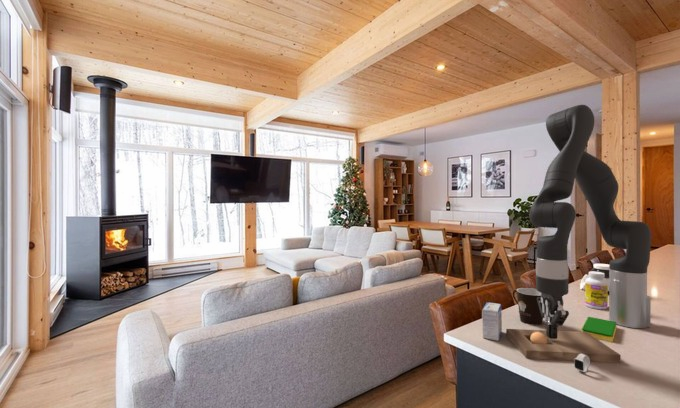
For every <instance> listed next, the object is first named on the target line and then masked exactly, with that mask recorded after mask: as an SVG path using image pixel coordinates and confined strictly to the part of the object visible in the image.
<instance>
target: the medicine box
mask: <svg viewBox="0 0 680 408" xmlns="http://www.w3.org/2000/svg"><path fill="white" fill-rule="evenodd" d="M502 313H503V312H502V304H501V303H495V302H486V303H485V305H484V306H483V307H482V311H481V321H482V322H481V323H482V325H481V327H482V328H481V329H482V339H483V338H484V339H487V340H492V341H500V337H501V334H502V331H503V329H502V327H503V325H502V324H503V323H502V321H503V320H502V317H503V316H502Z"/></svg>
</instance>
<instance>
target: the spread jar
mask: <svg viewBox="0 0 680 408" xmlns="http://www.w3.org/2000/svg"><path fill="white" fill-rule="evenodd" d="M609 269H610V268H609V264H608V263H607V264H606V263H593V268H592V269H591V270H590V271H595V272H602V273H604V274H605V277H604V280H605V281H607V283H608V295H609ZM587 278H589V274H584V276H583V277H582V279H581V281H580V283H579V289H580V290H583V291H585V280H586V279H587Z"/></svg>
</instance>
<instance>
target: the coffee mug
mask: <svg viewBox="0 0 680 408" xmlns="http://www.w3.org/2000/svg"><path fill="white" fill-rule="evenodd" d="M515 293H516V294H515ZM515 295H516V296H515ZM516 297H517V299H516ZM537 297H541V292H539V291H537V290H536V288H530V287H529V288H528V287H520V288H516V289H515V290H513V291H512V298H513V300H514V301H515V303H516V304H517V305H518V313H519V320H520V322H521V323H524V324H525V325H526V324H527V325H529V326H541V325H542V324H543V323H544V318H542V316H541V312H540V309H539V305H538V302H537Z"/></svg>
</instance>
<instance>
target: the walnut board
mask: <svg viewBox="0 0 680 408" xmlns="http://www.w3.org/2000/svg"><path fill="white" fill-rule="evenodd" d="M505 329H506V330H505V332H506V333H505V334H506V337H507V338H508V339H509V341H511V343H512V344H513V345H514V346H515V347H516V349H518V351H519V352H520V353H521V354H522V355H523V356H524V357H525V359H539V360H555V361H556V360H557V361H574V359H575V358H577V356H578V355H579V354H584V355H587V356H588V357H589V358H590V362H595V363H597V362H599V363H615V364H621V354H620V353H618V352H617V351H615V349H612V348H611V347H609V346H608V345H607V344H605V343H604V342H602V340H600V339H596V338H595V337H593V336H592V335H590V334H589V333H587V332H582V331H576V330H575V331H569V330H568V331H567V330H557V339H550V338H549V337H548V336H547V335H546V329H523V328H522V329H520V328H519V329H518V328H505ZM534 332H540V333H542V334H544V335H545V336H546V338H547V344H532V342H531V340H530V337H531V335H532V334H533V333H534Z"/></svg>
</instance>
